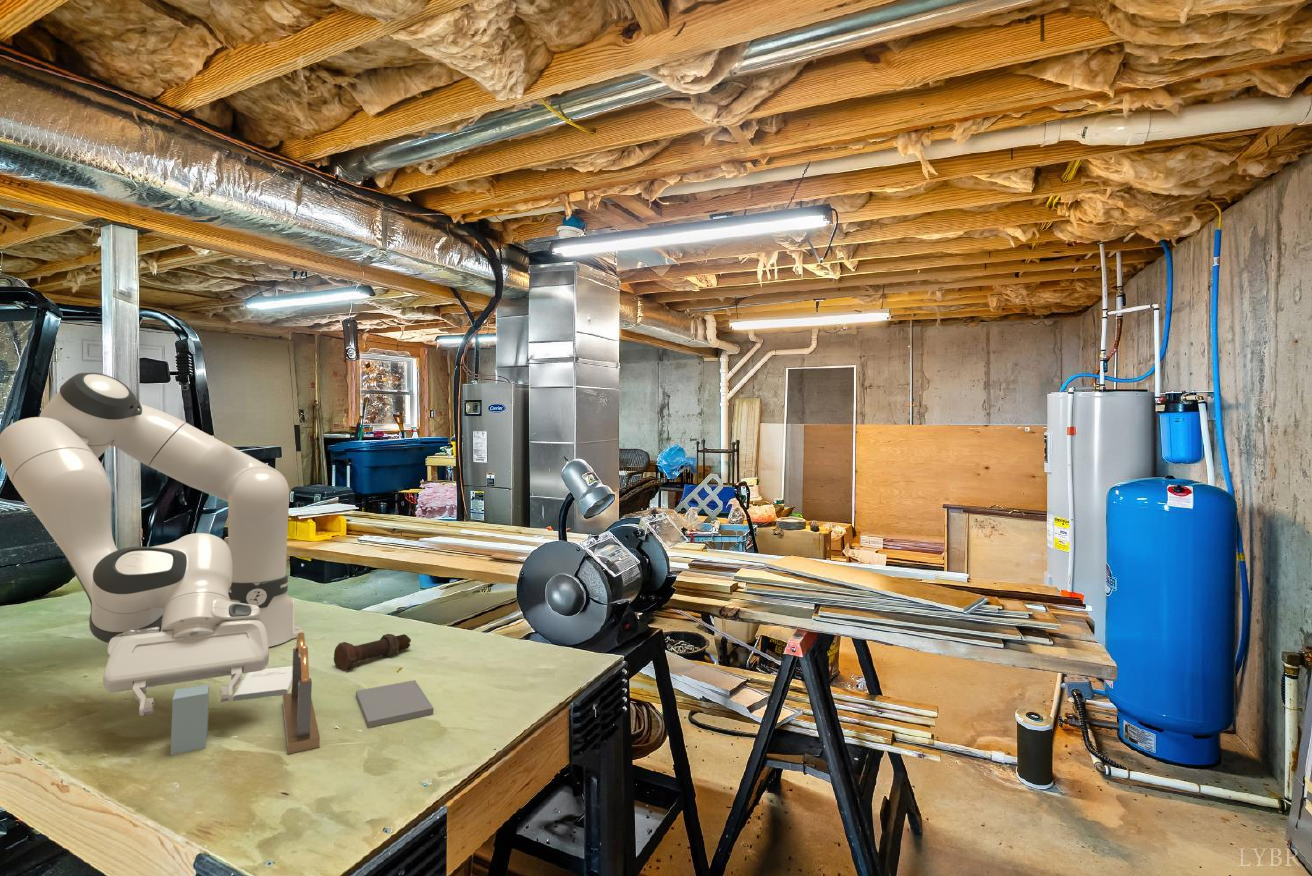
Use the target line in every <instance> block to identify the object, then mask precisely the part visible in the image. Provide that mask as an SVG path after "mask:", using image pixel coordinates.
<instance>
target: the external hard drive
mask: <svg viewBox="0 0 1312 876" xmlns="http://www.w3.org/2000/svg"><path fill="white" fill-rule="evenodd" d="M242 679H243V680H241V681H240V683H239V686H238V687H237V689H236V691H235V693H234V694H233V696H232V701H233V702H235V701H236V700H237V701H244V700H243V699H245V700H252V699H260V698H269V697H276V696H283V695H284V694H289V693H290V689H291V688H292V665H289V666H288V665H287V666H281V667H270V668H264V669H263V670H262V671H256V672H249V673H245V676H244V677H243V678H242Z"/></svg>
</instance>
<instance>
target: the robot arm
mask: <svg viewBox="0 0 1312 876" xmlns="http://www.w3.org/2000/svg"><path fill="white" fill-rule="evenodd" d="M110 446H111V447H114V448H115V447H116V448H117V449H118V450H120V451H121V452H122V453H125V454H127V456H129V457H131V458H132V459H134V460H136V461H138V462H140V463H142V464H143V465H145V466H147V467H149V468H151V469H154V470H156V472H157V471H158V472H160V473H162V474H163V475H165V476H167V477H169V478H171V479H174V480H176V481H177V482H180V483H182V484H184V485H186V486H188V487H190V488H193V489H196V490H198V491H200V492H203V493H205V494H208V495H209V496H213V497H215V498H217V499H220V500H222V501H224V502H227V506H228V507H227V510H228V511H227V513H228V514H227V516H228V517H227V530H228V531H227V536H228V537H227V539H228V540H227V541H228V542H226V541H225V540H224V539H223V538H220V537H219V536H217V535H214V534H210V533H207V532H206V533H205V532H194V533H190V534H186V535H184V536H181V537H180V538H179V539H178V538H177V539H176V540H175V541H172V542H169V543H164V544H159V545H154V546H129V547H124V548H120V549H118V548H117V546H116V544H115V541H114V538H113V534H112V533H113V532H112V521H111V516H112V514H111V513H112V512H111V511H112V510H111V509H112V491H111V489H112V488H111V483H110V481H109V478H108V475H107V472H106V470H105V468H104V465H103V464H102V463H101V461H100V460H99V458H100V457H101V456H102V455H103V454H104V453H105V452H106V450H108V448H110ZM0 460H1V463H2V465H3V468H4V470H5V472H6V474H7V476H8V478H9V480H10V481H11V483H12V485H13V486H14V488H15V490H16V491H17V493H18V494H19V495H20V497H21V498H22V499H23V501H24V502H25V503H26V505H27V506H28V508H30V510H31V511H32V512H33V514H34V515H35V516H36V518H37V519H38V520H39V521H40V523H41V524H42V525H43V527H44V528H45V530H46V531H47V532H48V534H49V535H50V536H51V537H52V539H53V540H54V542H55V543H56V545H57V546H58V547H59V548H60V550H61V553H63V555H64V557H65V558H66V561H67V562H68V564H69V566H70V568H71V569H72V571H73V573H74V575H75V577H76V579H77V580H78V583H80V585H81V588H82V589H83V591H84V593H85V594H86V596H87V598H88V600H89V604H90V613H89V621H88V623H89V625H88V626H89V630H90V632H91V634H92V635H93V636H94V637H95V638H96V639H97V640H99V641H100V642H104V643H108V644H107V650H106V654H107V656H108V660H107V663H106V665H105V668H104V671H103V676H102V682H103V683H102V684H103V686H104V688H105V689H106V690H107V691H108V692H109V693H119V692H126V691H132V692H133V697H135V699H136V700H137V702H138V703H139V710H138V713H139V716H141V717H142V716H146V715H153V714H154V708H155V698H154V697H148V698H147V697H146V695H145V694H147V692H148V691H147V690H148V688H154V687H159V686H166V685H168V686H169V685H174V684H179V683H187V682H194V681H199V680H208V679H213V678H215V679H216V678H220V677H227V676H231V679H230V682H229V683H228V684H227V685H226V686H225V685H224V686H221V687H220V703H223V702H230V701H231V702H232V701H233V696H234V694H233V692H234V690H235V689H236V688H237V686H238V685H240V683H241V682H242V681H243V680H242V679H243V674H247V673H249V672H256V671H262V670H263V669H266V667H268V665H269V661H270V647H274V646H278V645H281V644H283V643H286V642H288V641H290V640H293V639H297V635H298V633H300V632H303V633H304V629H302V628H301V627H300V626H299V625H297V624H295V623H296V621H295V620H296V618H295V617H296V616H295V615H296V614H295V613H296V612H295V611H296V610H295V609H296V607H295V606H296V605H295V603H296V602H295V599H293V598H292V597H291V596H289V594H288V593H287V592H288V590H289V576H288V575H287V556H288V555H287V554H288V553H287V552H288V530H289V529H288V528H289V510H290V508H289V506H290V487H289V484H288V481H287V479H286V477H285V475H283V474H282V473H281V472H280V471H279V470H277V469H275V468H274V467H272V466H270V465H268V464H266V463H265V462H263V461H260V460H259V459H256V458H255V457H253V456H251V455H249V454H247V453H245V452H243V451H240V450H239V449H238V448H235V447H233V446H231V445H229V444H227V443H225V442H223V441H221V440H219V439H217V438H216V437H214V436H212V435H210V434H209V433H207V432H204V431H202V430H200V429H199V428H198V427H195V426H193V425H191V424H190V423H188V422H186V421H184V420H182V419H180V418H179V417H176V416H173V415H172V414H169V413H168V412H165V411H162V410H160V409H157V408H154V407H151V406H150V405H149V406H148V405H145V404H143V403H140V402H139V400H138V399H137V396H136V395H135V394H134V392H133V391H132V390H131V389H130V387H128V386H127V385H126V384H125V383H123V382H122V381H120V379H119V380H118V379H117V378H115V377H112V376H110V375H108V374H104V373H99V372H79V373H76V374H74V375H73V376H71V377H70V378H69V379H68V380H66V381H65V382H64V383H62V385H61V386H60V388H59V391H58V392H57V393H55V395H54V396H53V397H52V398H51V399H50V400H49V401H48V402H47V403H46V405H45V406H44V408H43V409H42V411H40V413H39V416H34V417H32V416H31V417H27V418H23V419H20V420H17V421H15V422H13V423H11V424H10V425H8V426H7V427H5V428H4V430H2V431H1V432H0Z"/></svg>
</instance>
